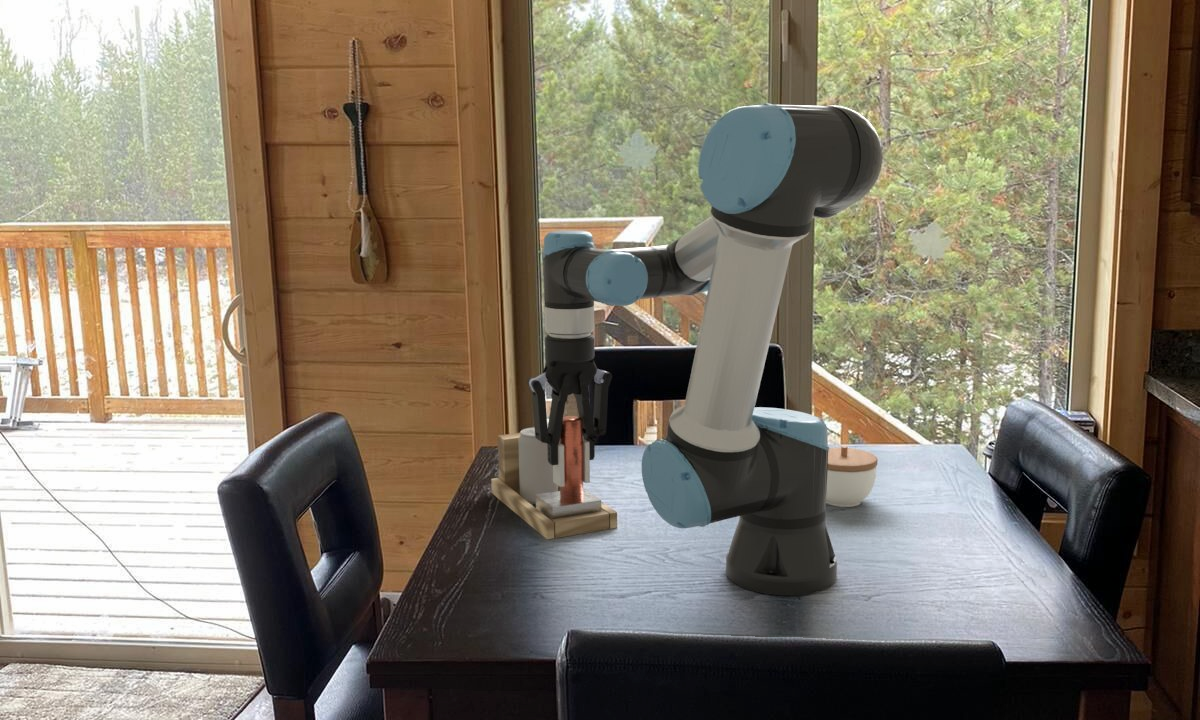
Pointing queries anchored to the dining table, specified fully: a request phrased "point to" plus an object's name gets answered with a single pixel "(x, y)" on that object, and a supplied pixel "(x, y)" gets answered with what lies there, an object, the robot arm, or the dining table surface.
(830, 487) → the lidded jar
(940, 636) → the dining table surface
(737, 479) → the robot arm
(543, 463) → the beverage can
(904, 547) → the dining table surface
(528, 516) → the press frame
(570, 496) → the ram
